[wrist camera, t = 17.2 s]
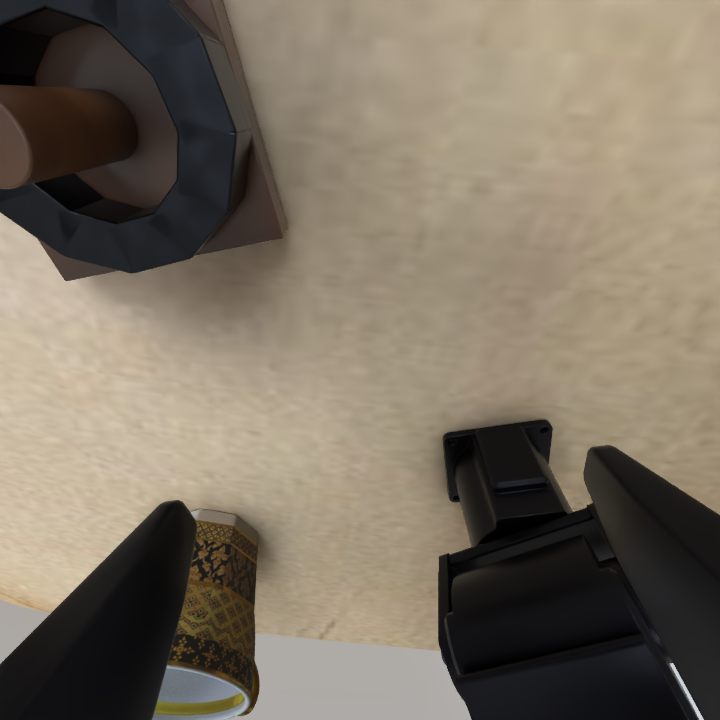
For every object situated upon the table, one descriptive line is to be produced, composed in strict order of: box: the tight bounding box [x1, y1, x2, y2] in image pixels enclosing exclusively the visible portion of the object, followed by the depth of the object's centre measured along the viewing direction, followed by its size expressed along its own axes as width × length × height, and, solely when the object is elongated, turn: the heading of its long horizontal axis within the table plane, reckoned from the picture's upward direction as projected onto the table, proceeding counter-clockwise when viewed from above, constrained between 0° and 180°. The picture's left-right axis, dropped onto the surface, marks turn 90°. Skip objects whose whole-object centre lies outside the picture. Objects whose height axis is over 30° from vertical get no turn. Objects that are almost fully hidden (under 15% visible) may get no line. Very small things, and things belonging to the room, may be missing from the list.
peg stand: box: [0, 0, 288, 281], centre depth 12 cm, size 10×10×7 cm
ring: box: [0, 0, 252, 273], centre depth 13 cm, size 9×9×2 cm
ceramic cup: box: [152, 509, 259, 720], centre depth 27 cm, size 13×10×10 cm
